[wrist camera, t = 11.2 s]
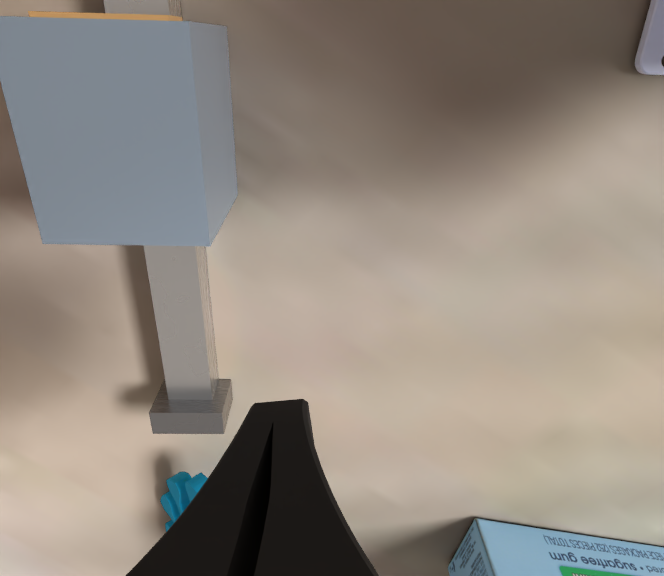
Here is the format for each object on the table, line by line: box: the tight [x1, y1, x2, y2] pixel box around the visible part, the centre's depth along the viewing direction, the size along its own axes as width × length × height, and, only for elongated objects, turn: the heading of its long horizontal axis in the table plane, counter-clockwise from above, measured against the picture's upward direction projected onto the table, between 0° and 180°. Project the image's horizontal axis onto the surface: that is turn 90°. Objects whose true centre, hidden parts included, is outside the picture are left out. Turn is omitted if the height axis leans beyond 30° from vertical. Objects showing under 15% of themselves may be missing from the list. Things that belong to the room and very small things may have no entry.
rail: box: [103, 0, 233, 434], centre depth 18 cm, size 3×22×2 cm, turn 179°
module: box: [0, 11, 238, 246], centre depth 16 cm, size 5×6×6 cm
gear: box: [161, 472, 208, 532], centre depth 26 cm, size 11×6×10 cm
